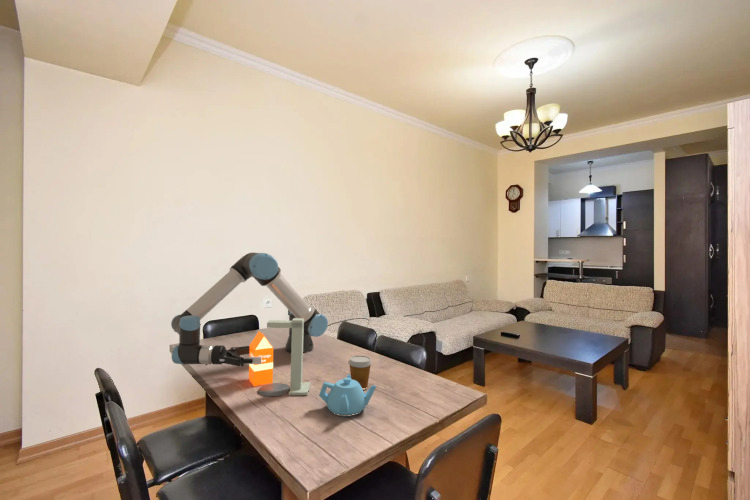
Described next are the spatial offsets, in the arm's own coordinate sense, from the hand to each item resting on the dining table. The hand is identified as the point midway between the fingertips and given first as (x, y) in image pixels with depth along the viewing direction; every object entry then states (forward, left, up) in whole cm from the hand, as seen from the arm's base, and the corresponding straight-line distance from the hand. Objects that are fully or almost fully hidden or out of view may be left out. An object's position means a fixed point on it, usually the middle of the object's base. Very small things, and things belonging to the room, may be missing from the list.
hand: (265, 355), depth 145 cm
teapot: (-17, +39, -11) cm, 44 cm away
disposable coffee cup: (-30, +26, -11) cm, 41 cm away
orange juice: (+2, -1, -11) cm, 11 cm away
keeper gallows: (-5, +13, -11) cm, 18 cm away
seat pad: (0, +11, -11) cm, 15 cm away
